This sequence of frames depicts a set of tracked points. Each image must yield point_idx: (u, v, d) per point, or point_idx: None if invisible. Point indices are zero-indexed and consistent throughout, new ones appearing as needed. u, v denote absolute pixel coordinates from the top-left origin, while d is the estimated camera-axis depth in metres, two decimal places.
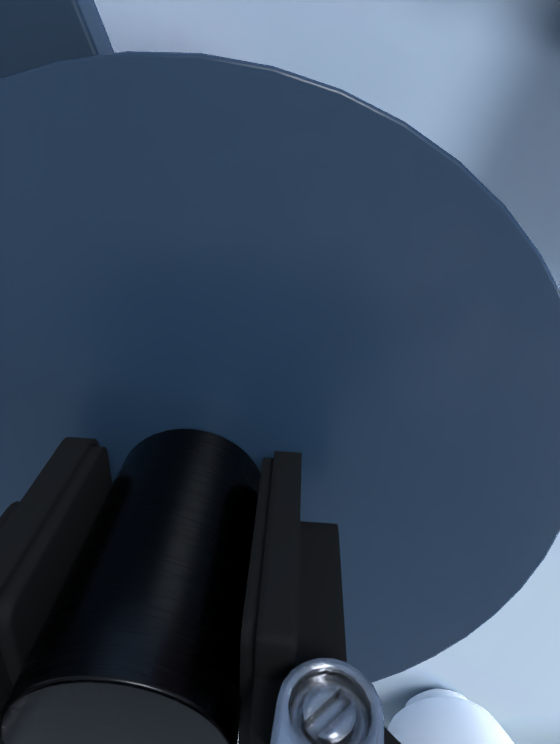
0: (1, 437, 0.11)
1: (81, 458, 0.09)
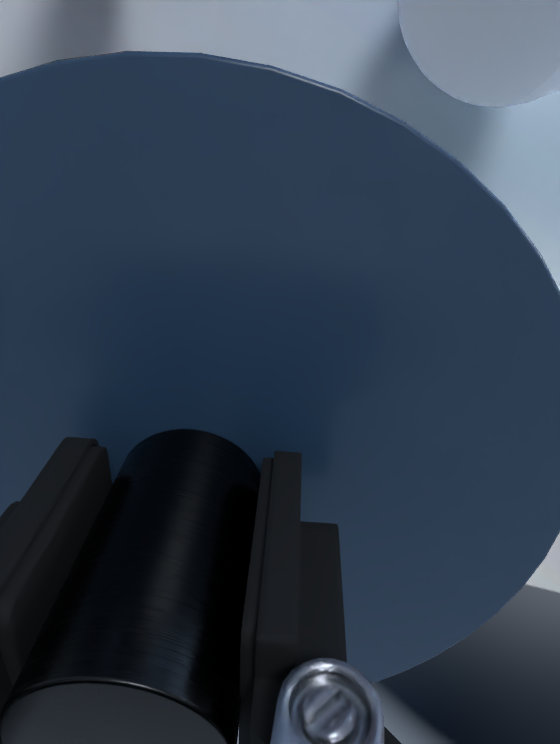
0: (0, 437, 0.11)
1: (81, 458, 0.09)
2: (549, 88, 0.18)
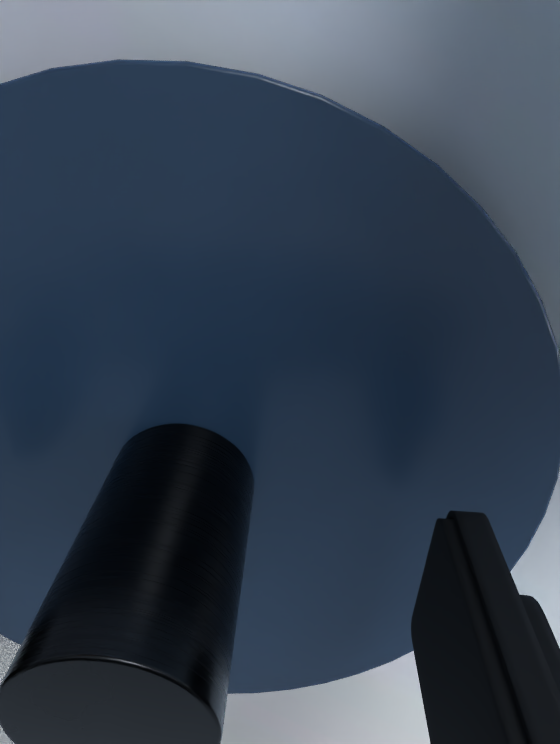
0: None
1: None
2: None
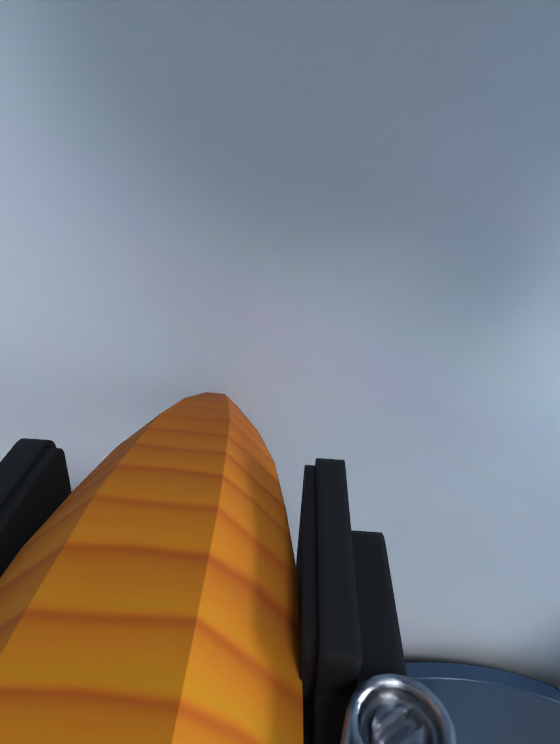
0: None
1: (34, 460, 0.09)
2: None
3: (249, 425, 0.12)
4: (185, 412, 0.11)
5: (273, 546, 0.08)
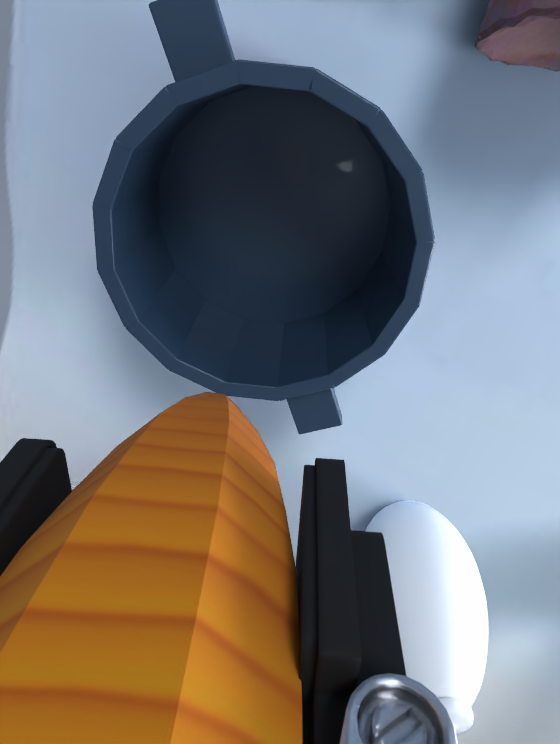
0: None
1: (34, 460, 0.09)
2: None
3: (249, 425, 0.12)
4: (185, 412, 0.11)
5: (273, 546, 0.08)
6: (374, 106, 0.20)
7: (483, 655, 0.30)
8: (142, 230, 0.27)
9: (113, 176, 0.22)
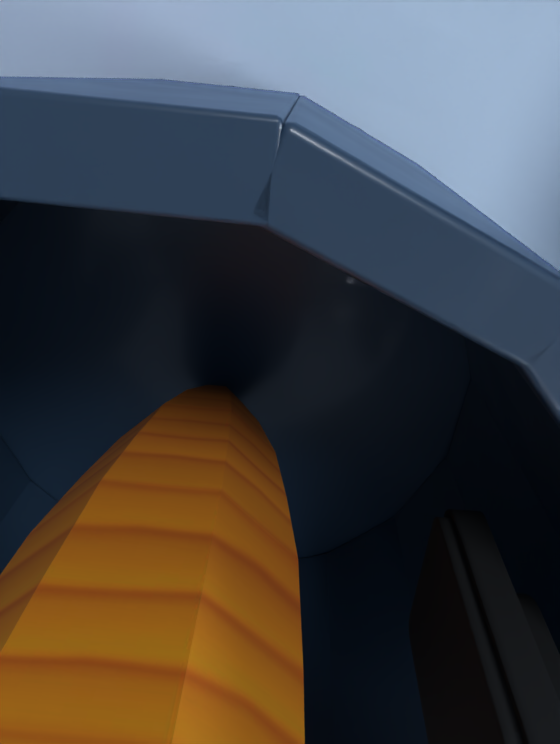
0: None
1: None
2: None
3: (250, 416, 0.12)
4: (187, 402, 0.11)
5: (274, 530, 0.08)
6: None
7: None
8: None
9: None
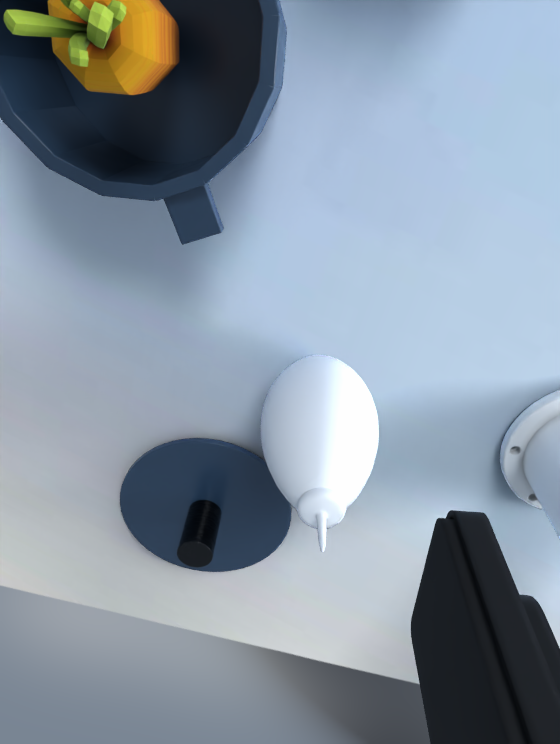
0: (162, 501, 0.48)
1: None
2: None
3: None
4: None
5: (168, 12, 0.26)
6: None
7: (363, 462, 0.31)
8: (27, 44, 0.29)
9: None
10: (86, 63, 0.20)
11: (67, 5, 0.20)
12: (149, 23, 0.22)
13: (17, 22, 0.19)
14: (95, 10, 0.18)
